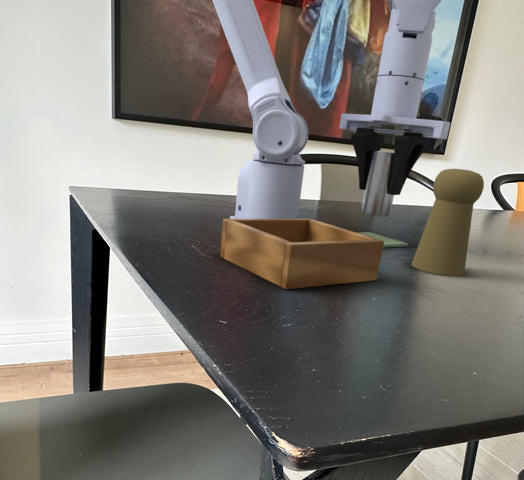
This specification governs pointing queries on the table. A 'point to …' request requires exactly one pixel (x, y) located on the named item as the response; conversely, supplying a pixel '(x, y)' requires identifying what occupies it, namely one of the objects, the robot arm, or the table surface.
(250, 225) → the wooden box
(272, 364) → the table surface
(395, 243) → the felt mat
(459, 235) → the cork
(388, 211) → the metal tube
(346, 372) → the table surface
